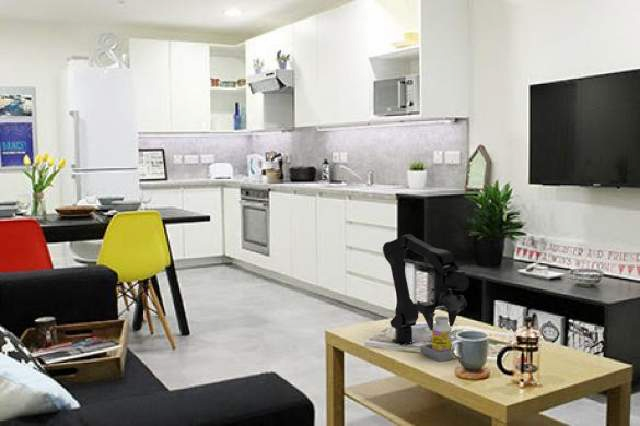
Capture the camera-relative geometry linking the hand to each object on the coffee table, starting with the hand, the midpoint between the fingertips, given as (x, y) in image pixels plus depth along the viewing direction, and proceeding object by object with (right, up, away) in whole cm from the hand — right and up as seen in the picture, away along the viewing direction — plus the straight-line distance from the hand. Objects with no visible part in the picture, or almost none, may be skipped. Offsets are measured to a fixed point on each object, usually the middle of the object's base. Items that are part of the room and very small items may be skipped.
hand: (441, 328), depth 245 cm
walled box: (0, -10, +1) cm, 10 cm away
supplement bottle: (0, -9, +1) cm, 9 cm away
